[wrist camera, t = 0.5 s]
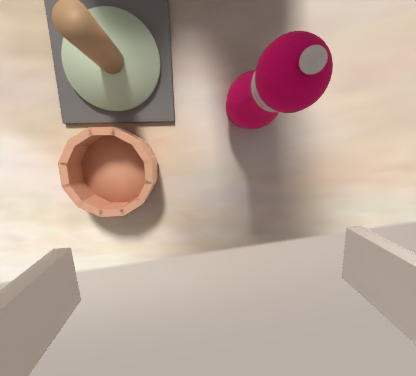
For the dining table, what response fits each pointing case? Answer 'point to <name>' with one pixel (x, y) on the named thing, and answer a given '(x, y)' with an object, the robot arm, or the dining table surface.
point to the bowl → (108, 171)
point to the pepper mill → (281, 80)
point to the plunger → (107, 54)
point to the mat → (163, 94)
